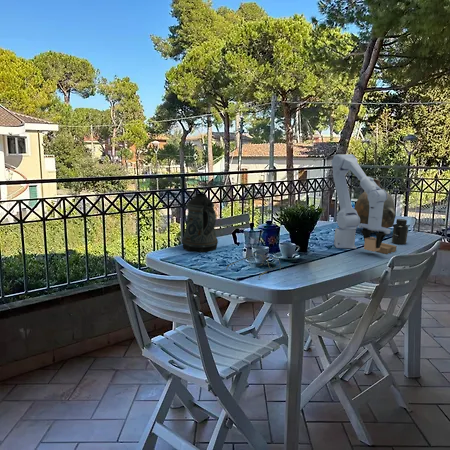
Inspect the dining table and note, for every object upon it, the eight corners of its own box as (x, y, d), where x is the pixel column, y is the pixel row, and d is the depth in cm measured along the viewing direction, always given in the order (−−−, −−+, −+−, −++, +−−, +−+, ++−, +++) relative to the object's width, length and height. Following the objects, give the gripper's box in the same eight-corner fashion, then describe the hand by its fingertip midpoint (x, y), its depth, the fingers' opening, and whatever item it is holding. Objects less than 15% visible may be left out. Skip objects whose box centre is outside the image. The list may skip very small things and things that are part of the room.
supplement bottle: (390, 243, 213) (393, 219, 210) (392, 240, 218) (395, 217, 216) (405, 245, 209) (408, 221, 207) (407, 242, 215) (409, 219, 213)
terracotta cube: (373, 251, 188) (375, 240, 187) (363, 249, 192) (364, 238, 191) (380, 249, 192) (381, 239, 190) (370, 247, 195) (371, 236, 194)
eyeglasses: (282, 271, 166) (282, 259, 165) (259, 281, 155) (259, 268, 154) (250, 263, 176) (250, 251, 175) (226, 271, 165) (226, 258, 164)
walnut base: (386, 255, 193) (387, 248, 192) (370, 251, 199) (371, 244, 198) (395, 252, 198) (396, 246, 197) (380, 248, 204) (380, 242, 203)
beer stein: (195, 241, 208) (195, 190, 202) (229, 247, 198) (231, 194, 193) (174, 248, 194) (174, 194, 189) (210, 255, 184) (211, 198, 179)
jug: (399, 232, 239) (405, 178, 232) (391, 239, 221) (397, 181, 215) (355, 226, 251) (359, 175, 245) (344, 232, 233) (349, 178, 227)
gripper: (395, 218, 186) (391, 248, 189) (365, 213, 197) (363, 241, 199) (386, 220, 181) (383, 251, 184) (357, 214, 192) (354, 243, 195)
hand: (372, 246), depth 192 cm, fingers closed on terracotta cube, 5 cm apart
